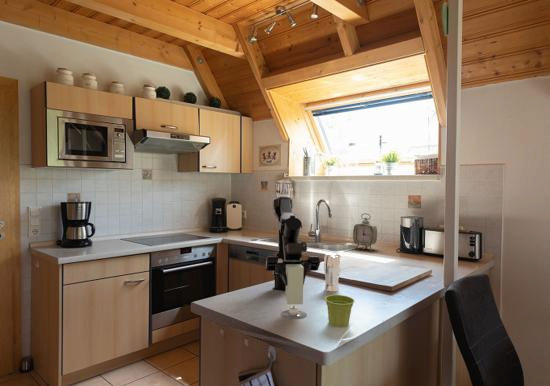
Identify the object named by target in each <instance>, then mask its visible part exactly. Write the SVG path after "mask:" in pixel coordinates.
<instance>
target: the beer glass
mask: <svg viewBox="0 0 550 386" xmlns="http://www.w3.org/2000/svg"><path fill="white" fill-rule="evenodd" d="M323 261H324V262H323V269H324V277H325V285H324V291H325V292H328V293H329V292H330V293H331V292H334V293H335V292H338V291H339V290H340V288H339V287H340V286H339V277H340V275H341V265H342V264H341V255H340V254H335V253H326V254H324V259H323Z"/></svg>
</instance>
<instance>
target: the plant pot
mask: <svg viewBox="0 0 550 386" xmlns="http://www.w3.org/2000/svg"><path fill="white" fill-rule="evenodd" d="M324 300H325V302H326V303H325V304H326V306H327V307H326V308H327V315H328V316H327V317H328V323H329V325H330V326H332V327H337V328H347V327H348V326H349V324H350V319H351V313H352V308H353V306H354V303H355V299H354V298H353V297H351V296H348V295H343V294H342V295H341V294H331V295H326V296H325V298H324Z"/></svg>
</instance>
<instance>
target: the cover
mask: <svg viewBox="0 0 550 386" xmlns="http://www.w3.org/2000/svg"><path fill="white" fill-rule="evenodd" d="M303 275H304V267H303V266H302V265H301V264H286V276H287V286H286V291H285V302H286V304H287V305H304V285H303Z"/></svg>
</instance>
